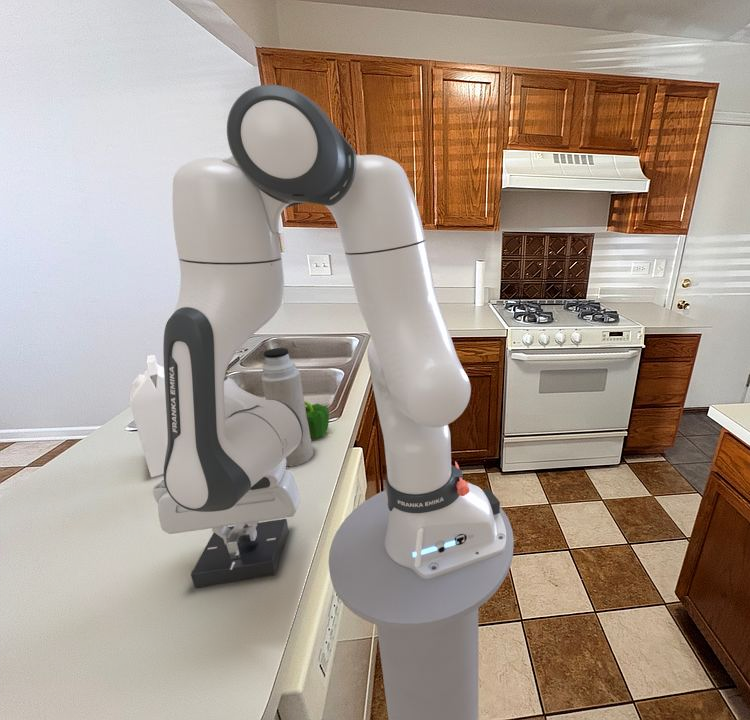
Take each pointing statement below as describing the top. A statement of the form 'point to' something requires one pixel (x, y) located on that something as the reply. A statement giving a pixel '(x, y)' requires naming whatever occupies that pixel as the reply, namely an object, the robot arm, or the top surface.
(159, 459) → the milk
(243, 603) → the top surface
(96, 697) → the top surface
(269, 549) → the tap base
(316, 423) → the bell pepper
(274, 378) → the thermos bottle
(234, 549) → the tap knob
